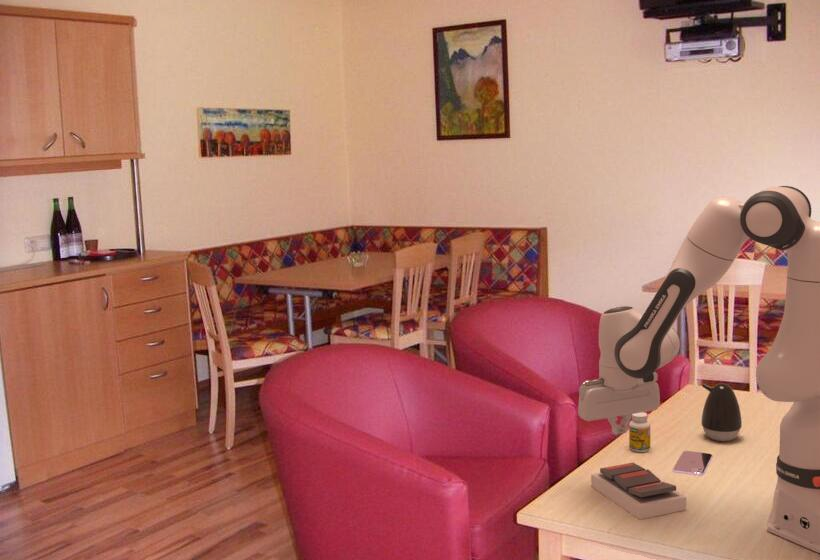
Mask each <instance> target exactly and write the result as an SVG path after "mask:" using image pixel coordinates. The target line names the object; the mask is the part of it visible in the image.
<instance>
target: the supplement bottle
mask: <svg viewBox="0 0 820 560" xmlns="http://www.w3.org/2000/svg"><path fill="white" fill-rule="evenodd" d="M648 418H649V417H648V413H647V412H641V413H635V414H631V419H632V420H630V421H629V423H628V427H629V428H628V431H629V432H628V435H629V437H628V441H629V442H628V445H629V447H628V448H629V450H630V451H632V452H634V453H635V452H636V453H647V452H649V451H650V450H651V423H650V422H649V419H648Z"/></svg>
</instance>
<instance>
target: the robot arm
mask: <svg viewBox="0 0 820 560" xmlns="http://www.w3.org/2000/svg"><path fill="white" fill-rule="evenodd" d="M811 216H812V204H811V202H810V199H809V198H808V196H807V195H806V194H805V193H804V192H803V191H802V190H801V189H799V188H796V187H793V186H791V185H780V186H779V185H778V186H772V187H767V188H764V189H762V190H760V191H758V192H756V193H754V194H752V196H750V197H749V198H748V199H747V200H746V201H745V202H743V201H741V200H740V201H739V200H738V199H736V198H733V197H726V196H720V197H716V198H714V199H712V200H711V201H710V202H709V203H708V204H707V205H706V207H704V209H703V210H702V211H701V213H700V214H699V215H698V217H697V218H696V219H695V221H694V223H693V224H692V225H691V227H690V229H689V231H688V232H687V235H685V238H684V239H683V241H682V243H681V245H680V247H679V249H678V251H677V254H676V256H675V258H674V260H673V262H672V264H671V266H670V268H669V270H668V272H667V273H666V275H665V278H664V280H663V282H662V284H661V285H660V287H659V288H658V289H657V292H656V293H655V294H654V297H653V298H652V300H651V302H650V303H649V304H648V306H647V308H646V310H645V311H644V313H643V314H641V313H640V312H639V311H637V309H636V308H635V307H632V306H627V305H626V306H617V307H614V308H612V307H611V308H610V309H607V310H605V311H604V312H603V313H602V314H601V315H600V318H599V325H598V326H599V327H598V347H599V352H600V356H599V360H598V371H599V372H598V374H599V375H598V376H599V377H598V378H595V379H592V380H589V379H587V380H585V381H584V382H583V383H582V384H580V386H579V388H578V396H579V397H578V406H577V414H578V416H579V418H581V419H582V420H583V421H586V422H591V421H599V420H605V419H607V421H608V423H609V424H610V426H611V432H612V434H613V435H617V436H618V435H622V434H627V432H628V426H629V423H630V422H631V421H632V420H631V419H632V414H635V413H641V412H644V413H647V412H650V411H651V412H652V411H657V410H658V409H659V407H660V406H661V399H660V398H661V394H660V387H659V384H658V382H657V381H658V373H657V372H656V371H657V370H658V369H660V368H663V367H664V366H665V365H666V364H668V363H670V362H672V360H674V359H675V358H676V357H677V356H678V354H679V353H680V350H681V339H680V337H679V334H678V332H677V331H676V330H675V329H674V328H673V326H674V323H675V322H676V321H677V319H678V318H679V316H680V314H681V313H682V311H684V309H685V308H686V307H687V306H688V305H689V304H690V303H691V302H693V300H695V299H696V298H697V297H698V296H700V295H702V294H703V293H705V292H706V291H707V290H709V289H711V288H713V287H714V286H716V284H717V283H718V282H719V281H720V280H721V279H722V278H723V276H724V275H725V274H726V273H727V272H728V271H729V269H730V268H731V266H732V265H733V263H734V261H735V260H736V259H737V256H738V254H739V252H740V251H741V249H742V247H743V246H744V245H745V243H746V242H747V241H748V240H750V239H751V240H753V241H754V242H756V243H758V244H761V245H764V246H767V247H771V248H773V249H776V250H779V251H785V252H786V255H787V270H786V271H787V272H786V285H785V287H786V288H785V301H784V308H783V309H784V311H783V315H782V318H781V322H780V326H779V328H778V331H777V333H776V336H775V338H774V340H773V342H772V344H771V347H770V348H769V349H768V351H767V352H766V354H765V355H764V356H763V357H762V358H761V359H760V360H759V362H758V363H757V365H756V367H755V380H756V383H757V387H758V389H759V390H760V391H761V393H762V394H763V395H764V396H765V397H766V399H767V398H768V399H769V400H771V401H774V402H782V403H793V404H792V405H791V407H790V408H789V409H788V411H787V412H786V413H785V415H784V416H783V417H782V418H781V421H780V425H779V447H778V448H779V452H778V453H779V454H778V455H777V457H776V463H775V468H776V470H775V472H776V475H777V481H776V485H775V489H774V494H773V499H772V505H771V510H770V514H769V515H768V523H767V526H766V527H767V528H766V530H767V531H768V532H769V533H771V534H774V535H776V536H779V537H780V538H783V539H785V540H787V541H789V542H793V543H795V544H797V545H799V546H802V547H804V548H806V549H808V550H812V551H813V552H815V553H818V554H820V221H817V220H813V219H812V218H811ZM618 417H621V418H622V419H621V421H620V424H618V423H617V422H616V421H618Z"/></svg>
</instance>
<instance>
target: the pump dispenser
mask: <svg viewBox="0 0 820 560" xmlns="http://www.w3.org/2000/svg"><path fill="white" fill-rule="evenodd" d="M702 388H704V389H706V390H707V391H708V394H707V397H706V399H705V402H704V405H703V407H702V408H703V409H702V415H701V422H700V423H701V426H702V429H703V432H704V433H705V435H706V436H707V437H708V438H709V439H711V440H714V441H717V442H729V441H732V440H734V439H735V438H737V436H738V435H739V433H740V430H741V429H742V425H743V424H742V414H741V409H740V404H739V402H738V399H737V396H736V393H735V391H734V390H733V388H732V387H731V386H730V385H729V384H727V383H723V382H720V383H717V384H715V385H714V386H711V385H709V384H706V383H702Z"/></svg>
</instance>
